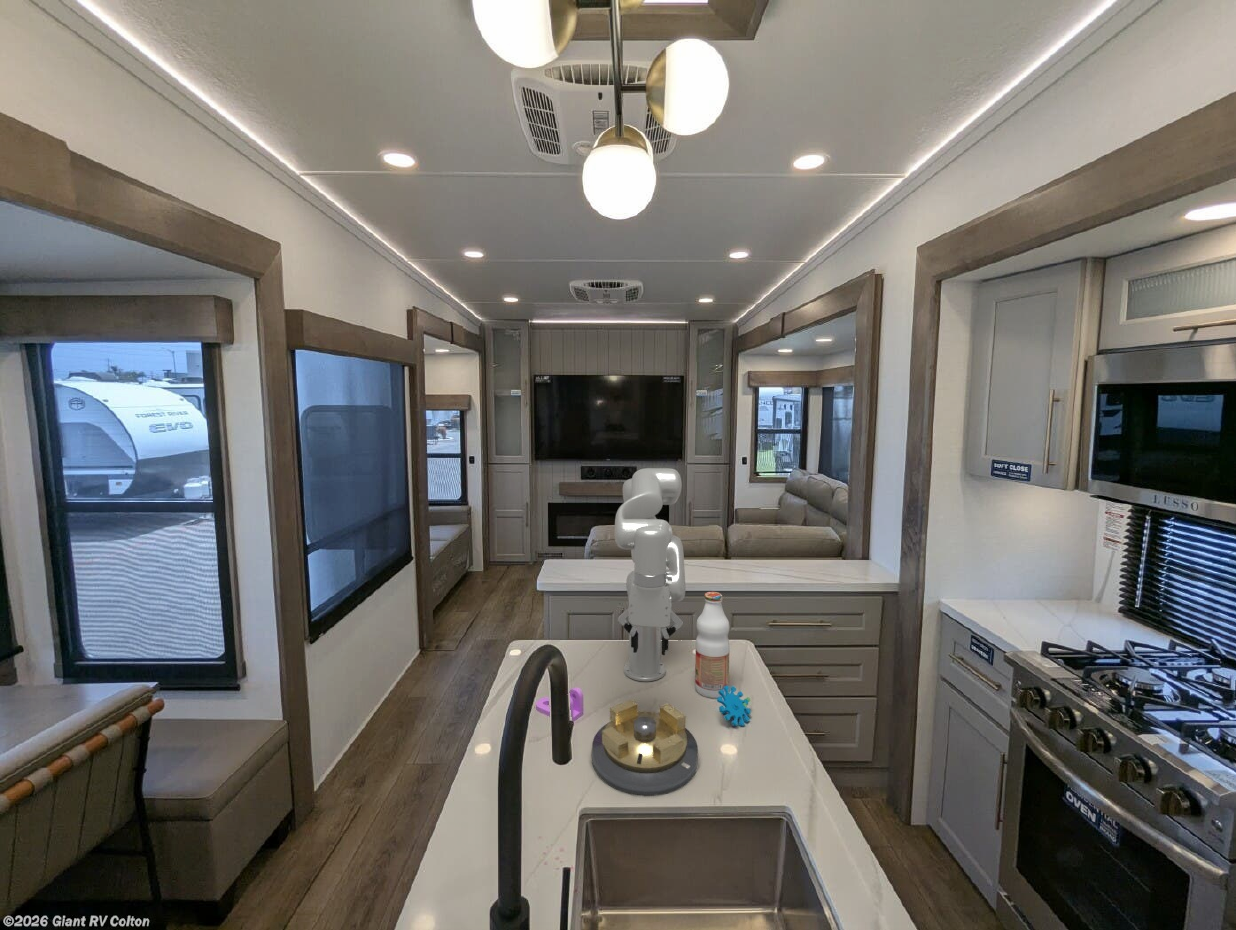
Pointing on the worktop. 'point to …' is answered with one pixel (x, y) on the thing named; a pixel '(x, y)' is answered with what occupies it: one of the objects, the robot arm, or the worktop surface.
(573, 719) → the bracket
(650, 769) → the four-jaw chuck
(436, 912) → the worktop surface
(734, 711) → the gear
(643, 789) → the cap flange
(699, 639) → the fruit juice
